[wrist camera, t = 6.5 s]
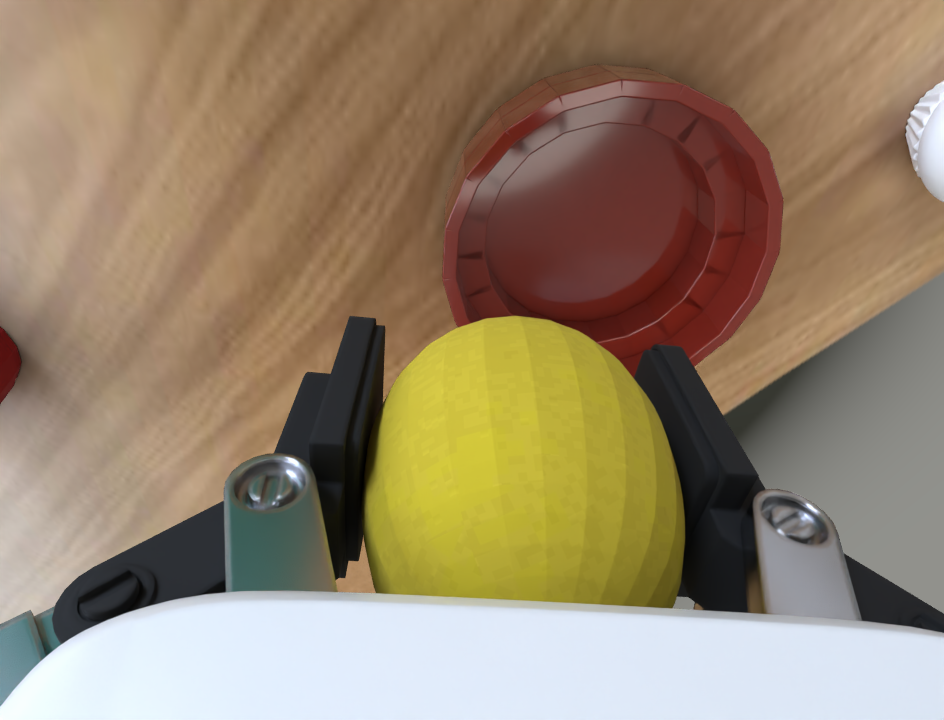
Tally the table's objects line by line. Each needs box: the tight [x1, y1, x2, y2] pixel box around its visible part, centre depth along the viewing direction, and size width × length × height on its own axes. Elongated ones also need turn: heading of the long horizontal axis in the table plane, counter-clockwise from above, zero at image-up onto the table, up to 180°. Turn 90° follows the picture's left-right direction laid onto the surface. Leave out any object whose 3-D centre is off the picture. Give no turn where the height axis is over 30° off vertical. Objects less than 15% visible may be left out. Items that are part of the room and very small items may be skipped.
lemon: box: [361, 316, 685, 608], centre depth 10 cm, size 6×6×8 cm
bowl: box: [442, 64, 783, 378], centre depth 26 cm, size 14×14×5 cm
